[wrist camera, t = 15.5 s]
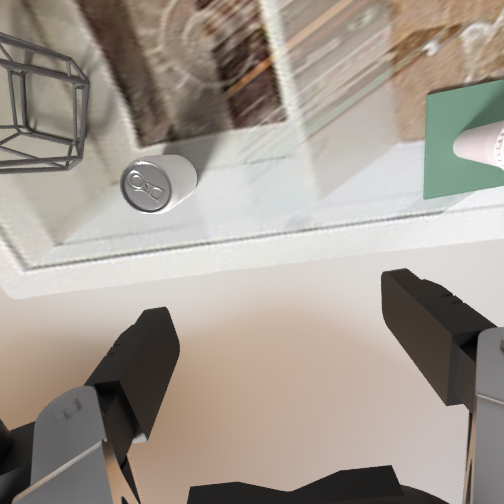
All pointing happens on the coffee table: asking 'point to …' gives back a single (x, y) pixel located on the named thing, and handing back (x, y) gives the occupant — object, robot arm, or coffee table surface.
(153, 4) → the coffee table surface
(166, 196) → the can
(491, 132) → the smoothie
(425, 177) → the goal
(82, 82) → the geometric lantern
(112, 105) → the coffee table surface
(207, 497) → the robot arm
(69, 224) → the coffee table surface
